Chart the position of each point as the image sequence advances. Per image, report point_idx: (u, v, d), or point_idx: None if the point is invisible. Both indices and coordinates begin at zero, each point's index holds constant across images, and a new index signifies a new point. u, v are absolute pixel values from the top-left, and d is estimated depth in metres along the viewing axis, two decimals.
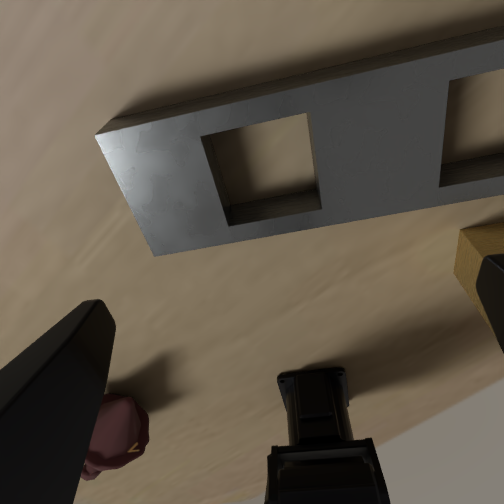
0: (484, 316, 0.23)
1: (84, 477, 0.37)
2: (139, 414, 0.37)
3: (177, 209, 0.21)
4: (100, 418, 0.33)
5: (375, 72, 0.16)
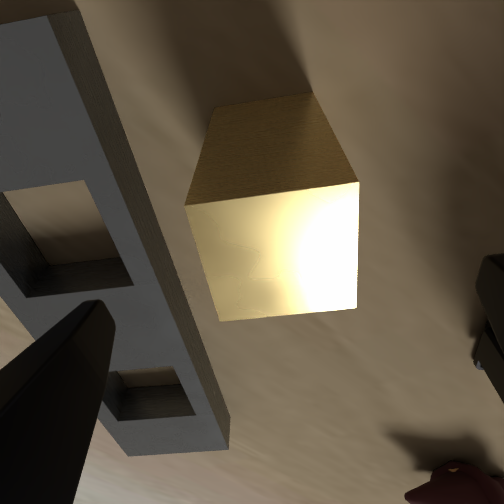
0: None
1: None
2: (469, 473, 0.32)
3: (181, 435, 0.26)
4: None
5: None
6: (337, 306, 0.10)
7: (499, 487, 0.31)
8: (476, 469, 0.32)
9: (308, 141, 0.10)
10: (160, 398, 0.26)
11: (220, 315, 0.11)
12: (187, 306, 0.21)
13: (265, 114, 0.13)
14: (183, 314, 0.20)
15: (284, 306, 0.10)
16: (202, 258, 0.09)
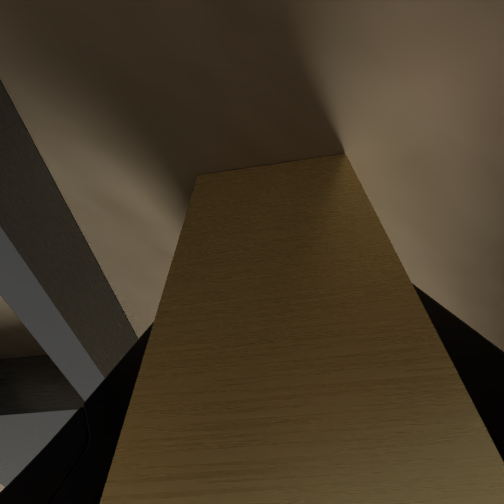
0: None
1: None
2: None
3: None
4: None
5: None
6: None
7: None
8: None
9: (361, 293, 0.05)
10: None
11: None
12: None
13: (274, 200, 0.08)
14: None
15: None
16: None
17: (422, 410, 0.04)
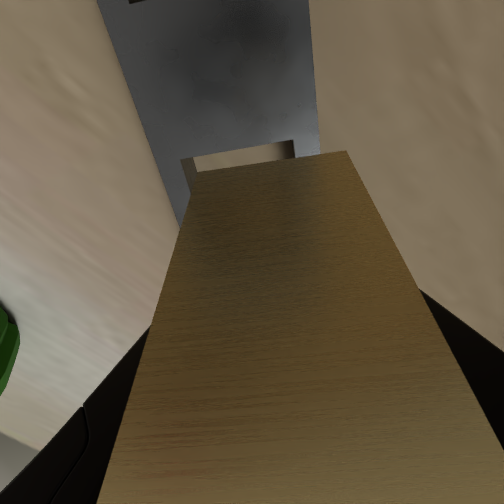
0: None
1: None
2: None
3: None
4: None
5: (135, 98, 0.16)
6: None
7: None
8: None
9: (362, 289, 0.05)
10: None
11: None
12: None
13: (275, 197, 0.08)
14: None
15: None
16: None
17: (424, 406, 0.04)
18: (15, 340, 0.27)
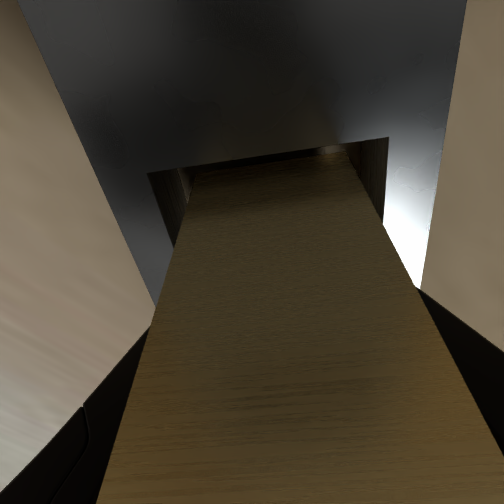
0: None
1: None
2: None
3: None
4: None
5: (36, 29, 0.07)
6: None
7: None
8: None
9: (361, 290, 0.05)
10: None
11: None
12: None
13: (274, 198, 0.08)
14: None
15: None
16: None
17: (423, 408, 0.04)
18: None
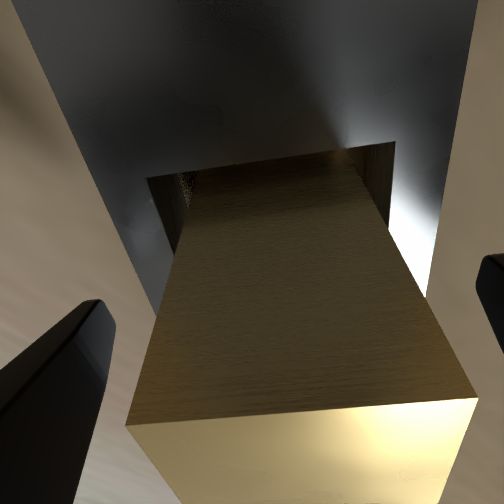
0: None
1: None
2: None
3: None
4: None
5: (31, 30, 0.07)
6: None
7: None
8: None
9: (350, 250, 0.06)
10: None
11: None
12: None
13: (274, 178, 0.09)
14: None
15: None
16: (169, 480, 0.05)
17: (398, 334, 0.05)
18: None
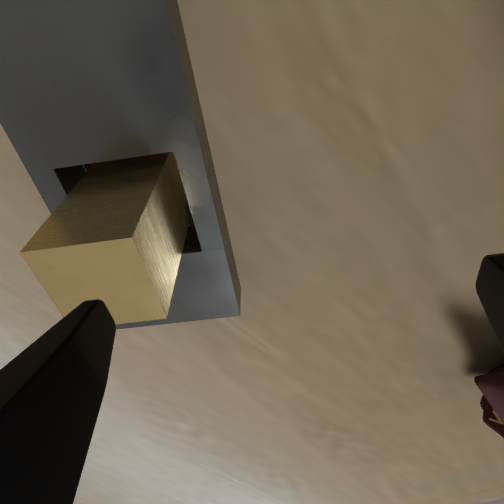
0: None
1: None
2: None
3: (182, 290, 0.21)
4: (494, 409, 0.27)
5: None
6: (153, 318, 0.14)
7: None
8: None
9: (130, 199, 0.14)
10: None
11: None
12: (193, 76, 0.16)
13: (124, 170, 0.17)
14: (188, 72, 0.15)
15: (114, 318, 0.14)
16: (43, 285, 0.13)
17: (123, 224, 0.13)
18: None
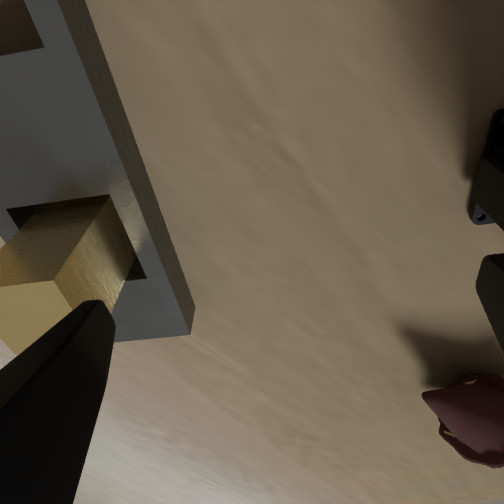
0: None
1: None
2: (490, 382, 0.29)
3: (133, 312, 0.23)
4: None
5: None
6: None
7: None
8: (498, 377, 0.29)
9: (65, 240, 0.16)
10: None
11: (13, 350, 0.17)
12: (128, 126, 0.18)
13: (70, 208, 0.19)
14: (119, 125, 0.17)
15: None
16: None
17: (51, 266, 0.15)
18: None
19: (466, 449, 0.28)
